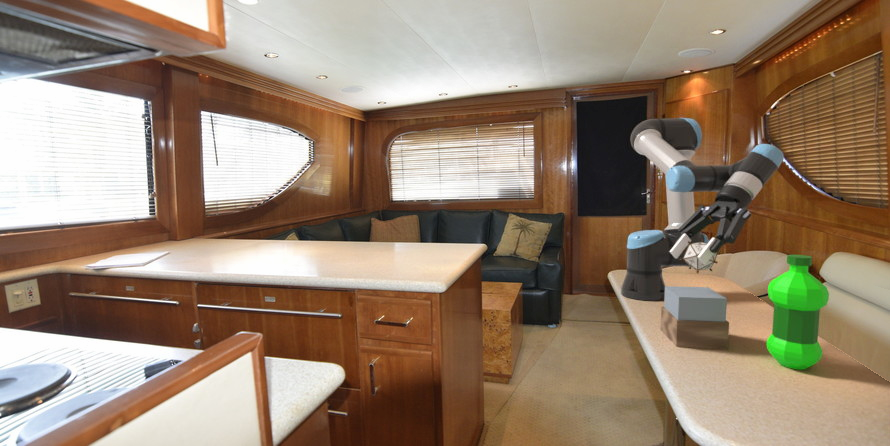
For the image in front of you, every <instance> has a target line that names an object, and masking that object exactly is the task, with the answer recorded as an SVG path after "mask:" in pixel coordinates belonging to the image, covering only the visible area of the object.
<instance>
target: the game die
mask: <svg viewBox="0 0 890 446" xmlns="http://www.w3.org/2000/svg"><path fill="white" fill-rule="evenodd" d="M688 243H689V246H688V248H687V250H684V251H685V255H684V257H683V258H681V259H680V260H684V261H685V262H686V263H687V264H688V265H689V266H690V267H688V270H692V269H693V270H696V274H699V273H700V272H699V271H707V270H709V271H710V272H713V269H712V267H713V265H714V264H718V261H716V259H717V256H718V255H721V252H720V251H718V252H717V253H714V254H713V256H712V257H711V258H710V259H709V261H708V262H707V263H706V265H705V264H702V262H701V261H700V260H699V259H698V257H697V256H698V255H699V254H700V253H701V251H702V250H703V249H704V248H705V246H706V245H707V244H706V243H703V240H701V242H699V243H690V241H688Z"/></svg>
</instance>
